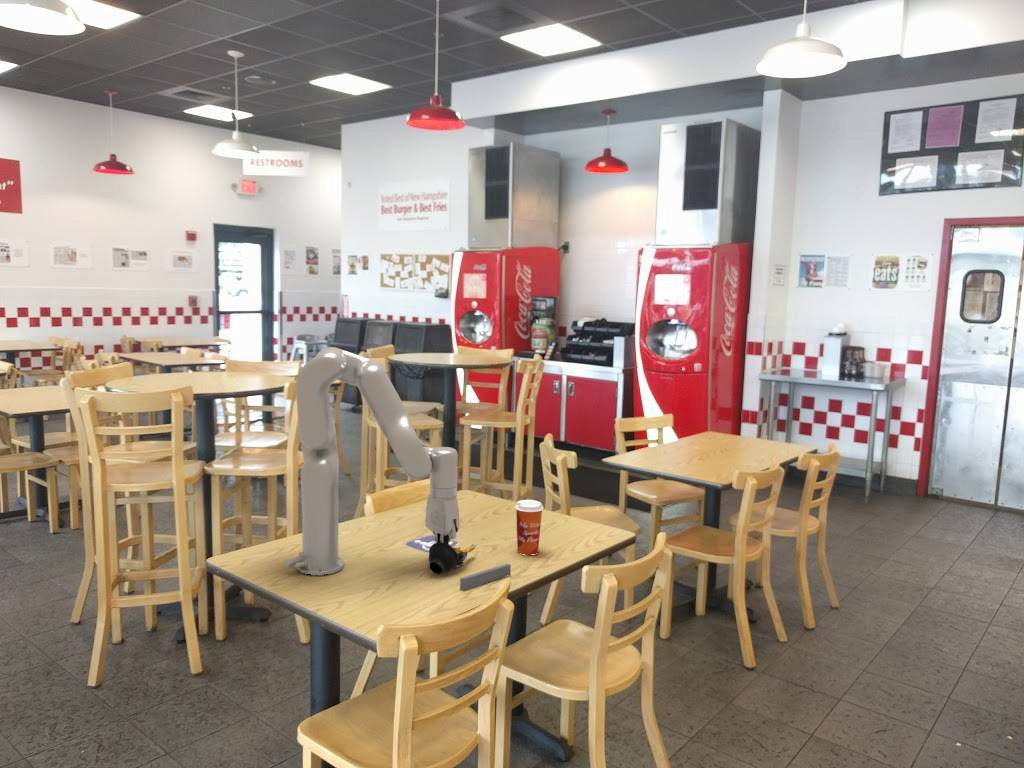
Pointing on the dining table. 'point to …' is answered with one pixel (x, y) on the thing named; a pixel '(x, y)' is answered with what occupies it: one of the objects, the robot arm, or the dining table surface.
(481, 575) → the rail
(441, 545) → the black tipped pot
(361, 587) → the dining table surface
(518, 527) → the coffee cup
